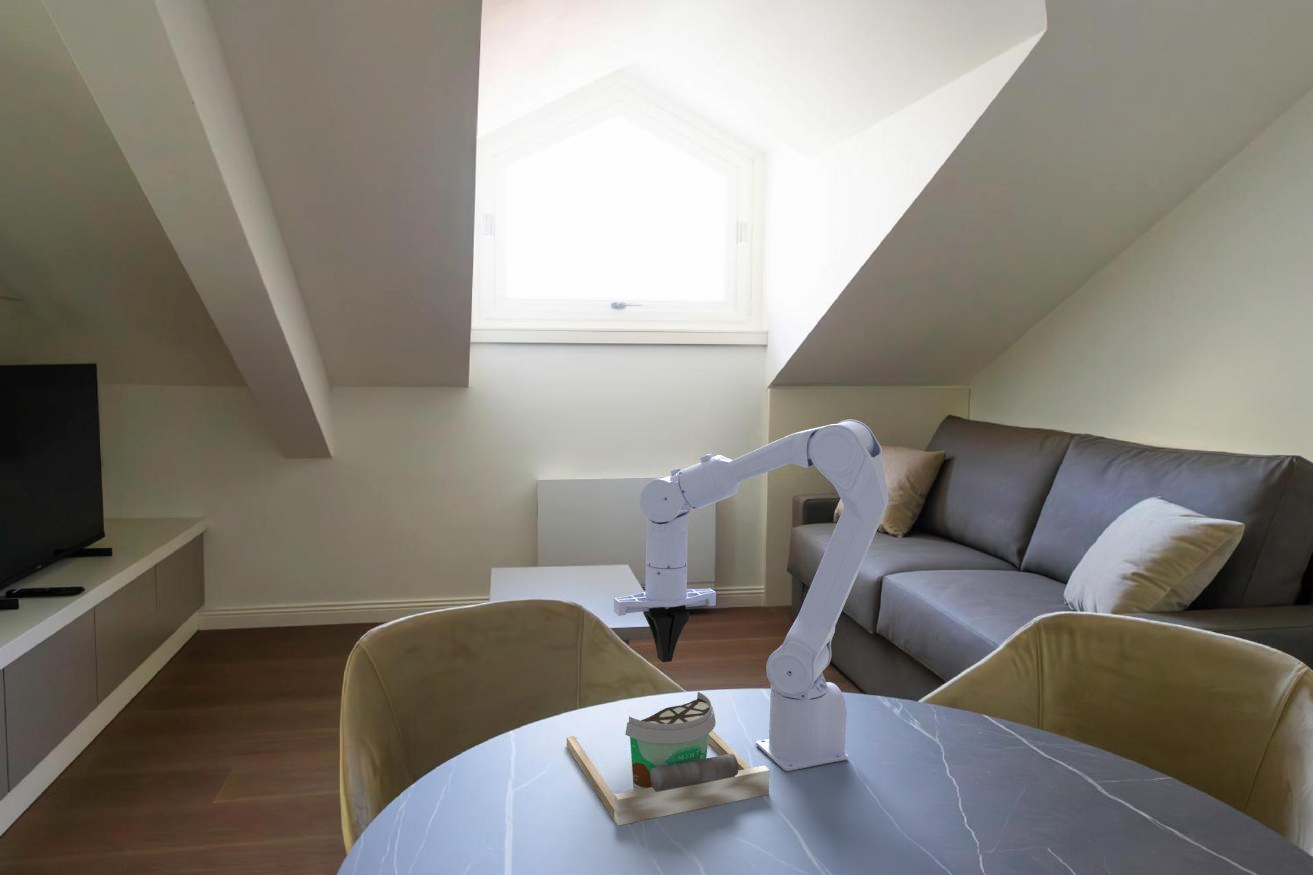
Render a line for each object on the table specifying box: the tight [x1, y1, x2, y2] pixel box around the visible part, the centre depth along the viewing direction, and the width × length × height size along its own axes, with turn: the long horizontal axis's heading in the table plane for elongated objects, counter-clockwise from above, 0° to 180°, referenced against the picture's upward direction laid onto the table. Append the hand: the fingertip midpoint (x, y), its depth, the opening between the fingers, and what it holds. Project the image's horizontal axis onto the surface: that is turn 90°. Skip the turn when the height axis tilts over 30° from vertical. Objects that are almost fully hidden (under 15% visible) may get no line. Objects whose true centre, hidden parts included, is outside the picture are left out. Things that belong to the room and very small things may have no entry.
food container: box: [624, 691, 717, 791], centre depth 100 cm, size 12×6×10 cm, turn 132°
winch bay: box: [566, 729, 771, 826], centre depth 105 cm, size 19×21×5 cm
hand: (664, 659), depth 118 cm, fingers closed
